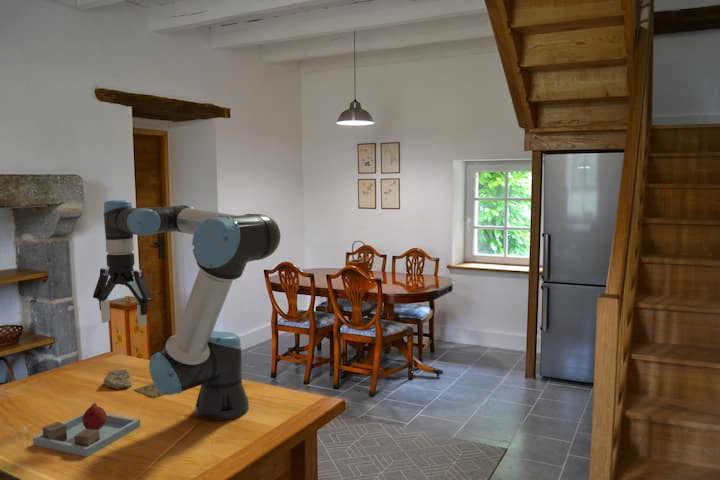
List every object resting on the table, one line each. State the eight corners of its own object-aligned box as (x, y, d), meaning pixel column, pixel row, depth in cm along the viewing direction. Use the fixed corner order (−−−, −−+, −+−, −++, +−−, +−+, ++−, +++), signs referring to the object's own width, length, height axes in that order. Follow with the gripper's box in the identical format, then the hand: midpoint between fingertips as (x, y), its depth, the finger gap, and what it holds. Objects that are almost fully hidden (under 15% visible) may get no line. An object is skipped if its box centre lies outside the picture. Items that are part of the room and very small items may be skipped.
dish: (140, 428, 155) (139, 419, 155) (87, 459, 139) (86, 449, 139) (90, 418, 162) (89, 410, 162) (33, 446, 145) (32, 437, 145)
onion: (98, 437, 149) (96, 408, 148) (78, 436, 150) (76, 406, 149) (111, 428, 154) (110, 399, 153) (93, 426, 155) (91, 398, 155)
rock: (101, 383, 190) (102, 388, 181) (105, 366, 191) (106, 369, 182) (129, 386, 194) (131, 390, 185) (132, 368, 195) (135, 372, 186)
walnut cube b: (67, 440, 148) (66, 425, 147) (51, 446, 144) (50, 430, 144) (59, 435, 150) (58, 421, 150) (43, 441, 147) (42, 426, 146)
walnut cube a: (100, 445, 145) (99, 429, 144) (89, 452, 141) (88, 437, 140) (85, 443, 146) (85, 428, 145) (75, 451, 142) (74, 435, 141)
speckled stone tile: (164, 380, 193) (164, 377, 193) (186, 388, 186) (186, 385, 186) (132, 391, 184) (131, 388, 184) (153, 400, 176) (153, 397, 176)
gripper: (163, 253, 167) (166, 323, 169) (97, 249, 175) (101, 317, 178) (145, 256, 160) (149, 330, 162) (77, 252, 168) (81, 323, 171)
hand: (124, 323), depth 170 cm, fingers open, 13 cm apart
